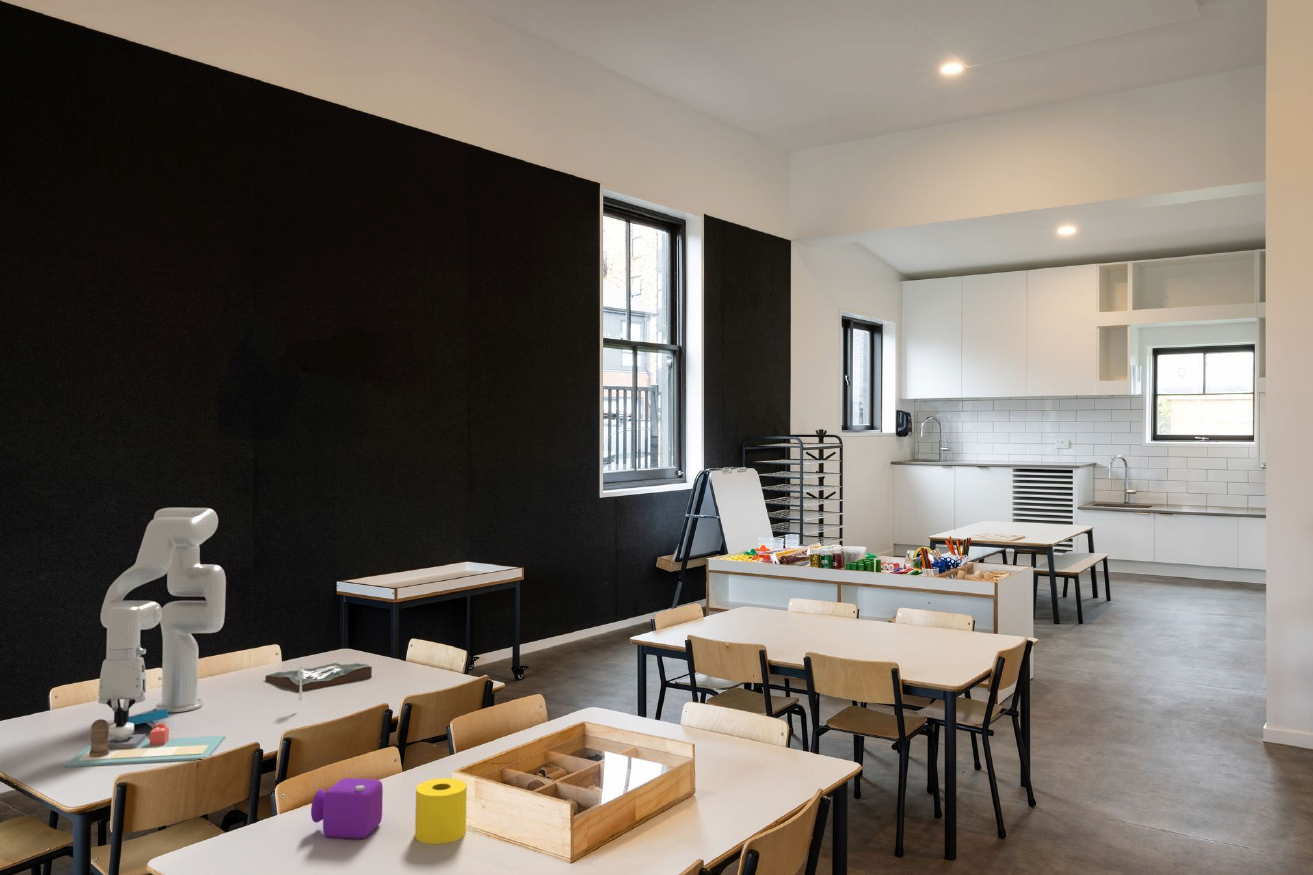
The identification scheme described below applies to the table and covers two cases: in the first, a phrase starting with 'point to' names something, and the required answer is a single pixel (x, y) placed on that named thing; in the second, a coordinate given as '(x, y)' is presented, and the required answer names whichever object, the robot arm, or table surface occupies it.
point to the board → (150, 749)
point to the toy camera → (349, 808)
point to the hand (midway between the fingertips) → (121, 725)
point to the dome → (121, 731)
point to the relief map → (320, 676)
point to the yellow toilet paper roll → (440, 811)
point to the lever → (150, 718)
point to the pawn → (99, 738)
